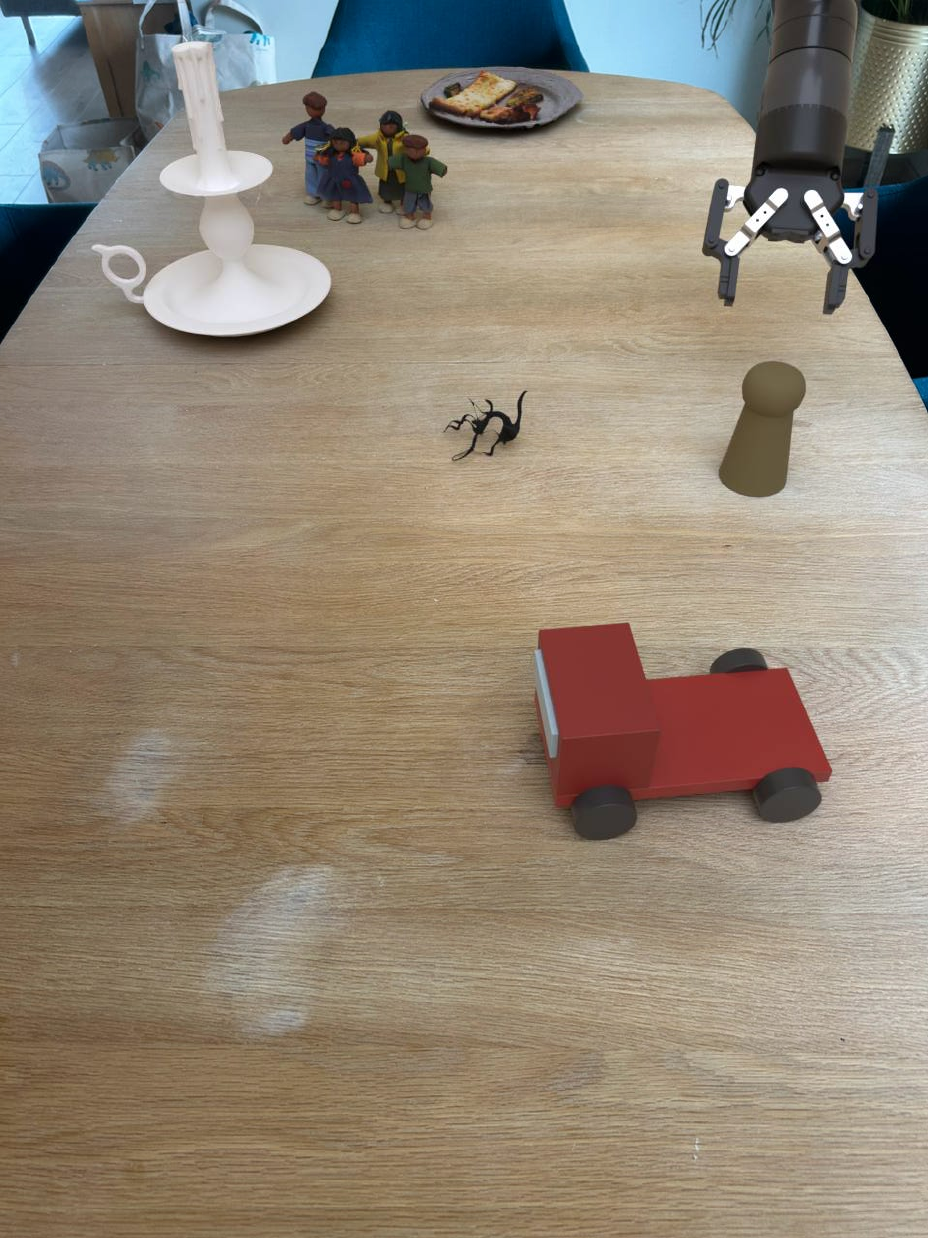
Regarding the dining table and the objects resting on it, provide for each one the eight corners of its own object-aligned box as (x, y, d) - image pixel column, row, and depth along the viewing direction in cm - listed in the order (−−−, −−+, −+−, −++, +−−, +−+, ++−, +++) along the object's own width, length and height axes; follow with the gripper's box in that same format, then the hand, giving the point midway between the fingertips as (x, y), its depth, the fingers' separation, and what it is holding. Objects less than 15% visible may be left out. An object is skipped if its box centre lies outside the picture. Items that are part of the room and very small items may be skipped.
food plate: (523, 151, 145) (524, 125, 142) (393, 120, 154) (391, 96, 151) (603, 99, 159) (605, 75, 157) (480, 74, 168) (480, 50, 166)
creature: (433, 469, 94) (512, 470, 91) (419, 419, 91) (500, 419, 87) (462, 423, 99) (538, 423, 96) (450, 375, 96) (528, 373, 93)
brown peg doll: (782, 502, 88) (811, 395, 80) (713, 489, 90) (736, 383, 82) (789, 463, 92) (818, 357, 84) (723, 451, 94) (746, 346, 86)
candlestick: (126, 276, 119) (54, 10, 99) (333, 264, 121) (304, 0, 101) (98, 369, 105) (7, 80, 85) (334, 354, 106) (299, 67, 86)
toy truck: (771, 680, 74) (799, 591, 67) (828, 818, 66) (867, 732, 59) (524, 702, 73) (529, 613, 66) (551, 845, 64) (559, 760, 58)
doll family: (272, 219, 130) (255, 110, 120) (292, 190, 136) (278, 84, 126) (446, 231, 127) (444, 120, 117) (459, 201, 133) (458, 93, 123)
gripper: (724, 95, 84) (700, 288, 84) (900, 104, 82) (875, 301, 83) (714, 137, 92) (692, 314, 92) (875, 146, 90) (852, 327, 90)
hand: (778, 308), depth 87 cm, fingers open, 8 cm apart
